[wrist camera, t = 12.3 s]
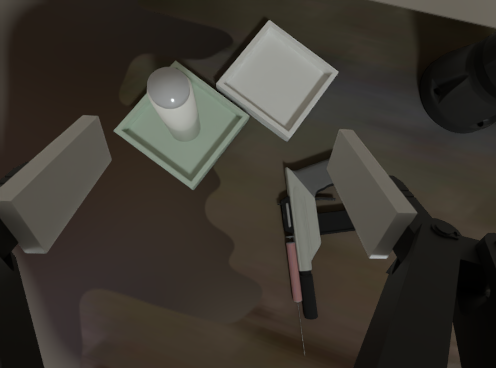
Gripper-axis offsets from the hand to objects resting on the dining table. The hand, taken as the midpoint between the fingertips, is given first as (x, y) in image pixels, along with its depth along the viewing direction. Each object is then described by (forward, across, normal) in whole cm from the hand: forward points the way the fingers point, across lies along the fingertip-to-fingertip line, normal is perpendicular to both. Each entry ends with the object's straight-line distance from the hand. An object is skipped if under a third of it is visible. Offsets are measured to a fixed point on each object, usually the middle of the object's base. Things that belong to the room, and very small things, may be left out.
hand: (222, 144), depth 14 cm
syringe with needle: (+14, +17, -26) cm, 34 cm away
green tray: (+26, -7, -12) cm, 30 cm away
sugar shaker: (+26, -7, -12) cm, 29 cm away
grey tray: (+33, +8, -6) cm, 34 cm away
